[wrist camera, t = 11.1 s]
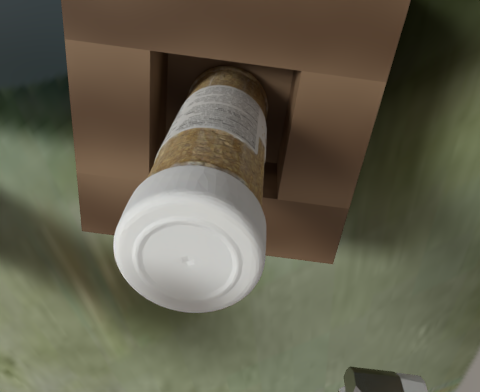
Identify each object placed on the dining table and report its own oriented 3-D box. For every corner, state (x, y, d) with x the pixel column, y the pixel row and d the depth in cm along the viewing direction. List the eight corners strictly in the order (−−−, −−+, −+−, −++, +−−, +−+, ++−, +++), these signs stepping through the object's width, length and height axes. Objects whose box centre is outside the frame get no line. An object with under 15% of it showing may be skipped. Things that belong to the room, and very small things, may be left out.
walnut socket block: (99, -63, 21) (55, -60, 17) (386, -24, 21) (414, -11, 17) (110, 185, 29) (82, 230, 24) (324, 213, 29) (332, 264, 25)
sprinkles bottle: (244, 155, 26) (221, 338, 14) (173, 118, 25) (88, 283, 13) (284, 88, 24) (295, 241, 12) (208, 45, 23) (142, 168, 11)
